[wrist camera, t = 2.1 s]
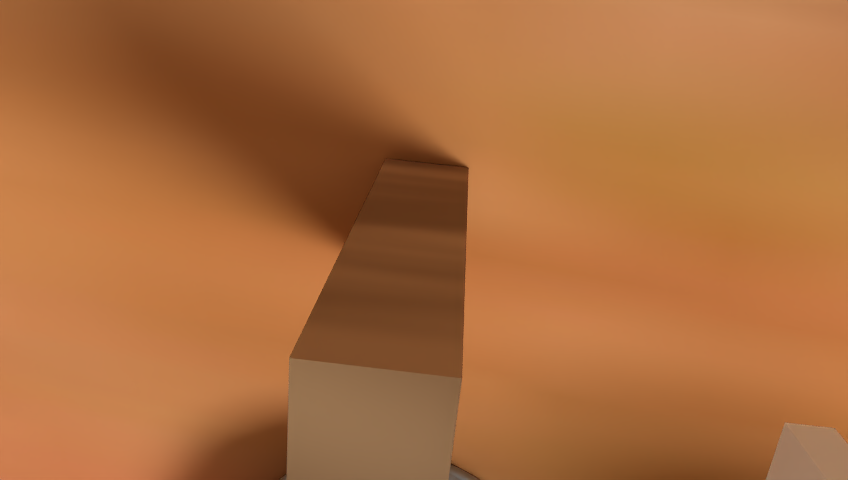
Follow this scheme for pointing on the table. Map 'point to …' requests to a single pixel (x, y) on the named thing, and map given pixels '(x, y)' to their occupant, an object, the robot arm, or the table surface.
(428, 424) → the wooden rectangular block
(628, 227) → the table surface
